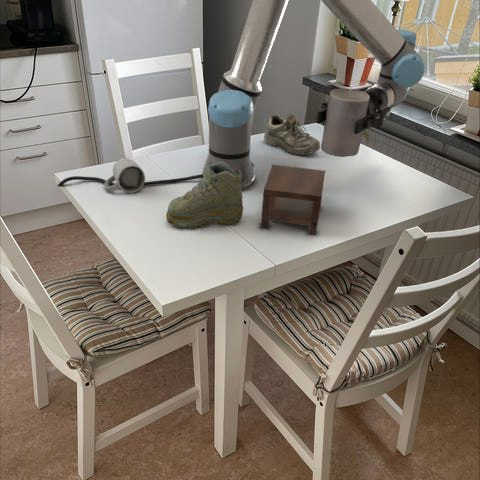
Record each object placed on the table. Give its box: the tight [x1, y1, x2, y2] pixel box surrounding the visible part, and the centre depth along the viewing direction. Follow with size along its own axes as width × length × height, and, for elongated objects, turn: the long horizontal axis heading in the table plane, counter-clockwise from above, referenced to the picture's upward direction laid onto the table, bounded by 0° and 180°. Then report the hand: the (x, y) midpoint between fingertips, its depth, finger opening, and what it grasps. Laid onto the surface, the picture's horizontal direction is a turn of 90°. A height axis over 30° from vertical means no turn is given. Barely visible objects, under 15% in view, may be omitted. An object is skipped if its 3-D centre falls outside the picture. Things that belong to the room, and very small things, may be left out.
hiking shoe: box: [263, 114, 321, 156], centre depth 168 cm, size 9×21×12 cm, turn 50°
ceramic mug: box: [103, 157, 146, 194], centre depth 140 cm, size 11×8×8 cm
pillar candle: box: [320, 87, 370, 158], centre depth 125 cm, size 10×10×15 cm
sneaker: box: [165, 162, 244, 229], centre depth 125 cm, size 11×19×15 cm, turn 88°
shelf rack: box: [260, 164, 326, 236], centre depth 130 cm, size 14×15×11 cm
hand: (337, 123), depth 122 cm, fingers closed on pillar candle, 10 cm apart
